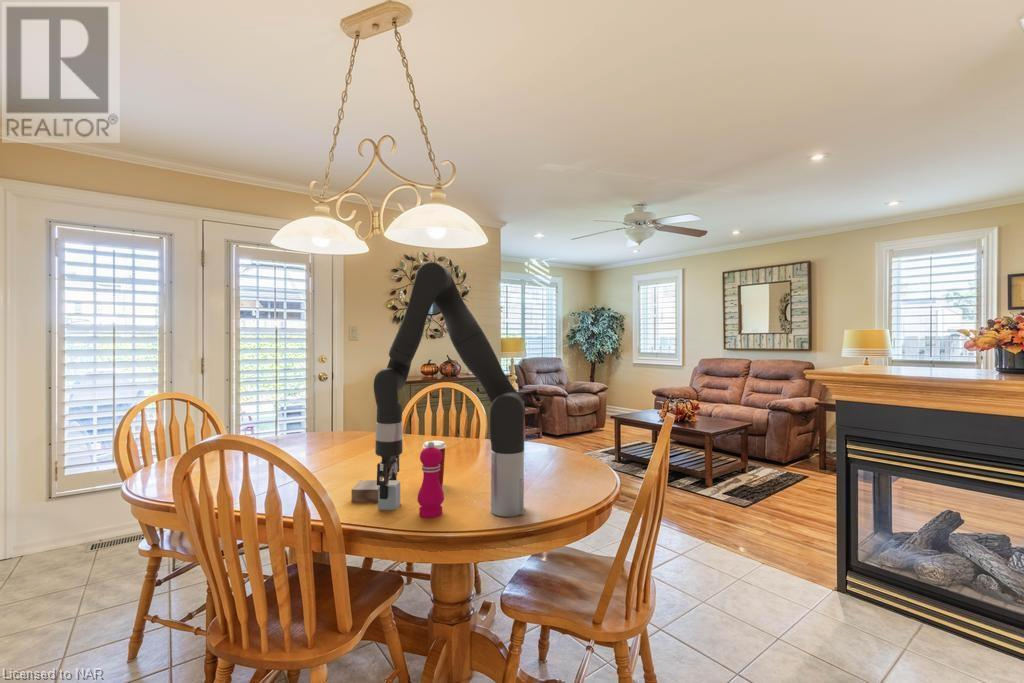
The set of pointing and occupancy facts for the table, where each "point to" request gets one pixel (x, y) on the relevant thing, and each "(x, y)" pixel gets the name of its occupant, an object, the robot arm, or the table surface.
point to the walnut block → (365, 491)
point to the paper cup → (441, 447)
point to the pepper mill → (430, 483)
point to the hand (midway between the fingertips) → (388, 493)
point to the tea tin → (390, 496)
